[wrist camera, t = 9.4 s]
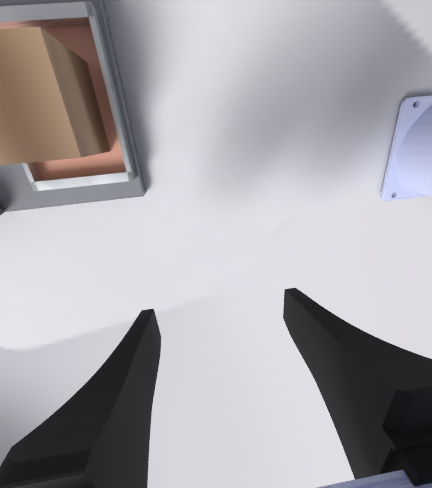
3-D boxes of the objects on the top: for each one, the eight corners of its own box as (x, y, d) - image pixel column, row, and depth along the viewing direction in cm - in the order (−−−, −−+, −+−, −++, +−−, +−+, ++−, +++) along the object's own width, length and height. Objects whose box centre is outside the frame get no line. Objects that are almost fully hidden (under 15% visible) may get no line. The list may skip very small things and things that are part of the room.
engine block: (86, 61, 14) (39, 26, 9) (110, 151, 16) (81, 157, 12) (16, 66, 14) (-67, 33, 9) (50, 157, 16) (-4, 165, 11)
